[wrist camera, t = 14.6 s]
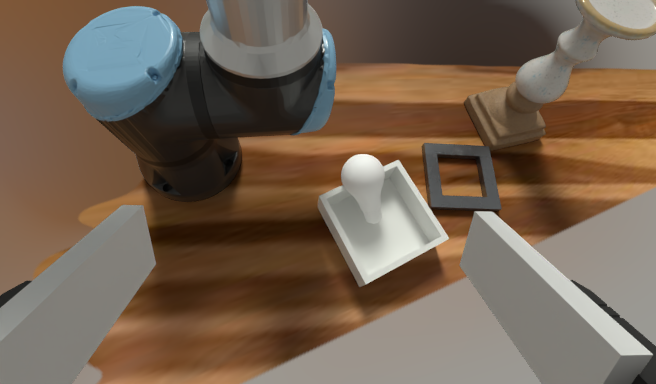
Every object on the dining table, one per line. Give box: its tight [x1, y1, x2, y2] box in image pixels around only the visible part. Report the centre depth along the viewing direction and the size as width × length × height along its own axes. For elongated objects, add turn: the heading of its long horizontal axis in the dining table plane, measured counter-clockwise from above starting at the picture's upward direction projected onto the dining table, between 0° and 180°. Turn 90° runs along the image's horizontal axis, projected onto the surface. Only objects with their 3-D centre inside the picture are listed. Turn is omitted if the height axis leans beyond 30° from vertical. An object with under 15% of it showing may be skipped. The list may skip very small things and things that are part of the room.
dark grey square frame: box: [422, 143, 501, 212], centre depth 52 cm, size 12×12×1 cm
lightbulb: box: [341, 154, 385, 224], centre depth 45 cm, size 6×6×11 cm
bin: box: [317, 160, 449, 287], centre depth 46 cm, size 14×14×5 cm
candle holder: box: [464, 0, 656, 151], centre depth 47 cm, size 11×11×24 cm
